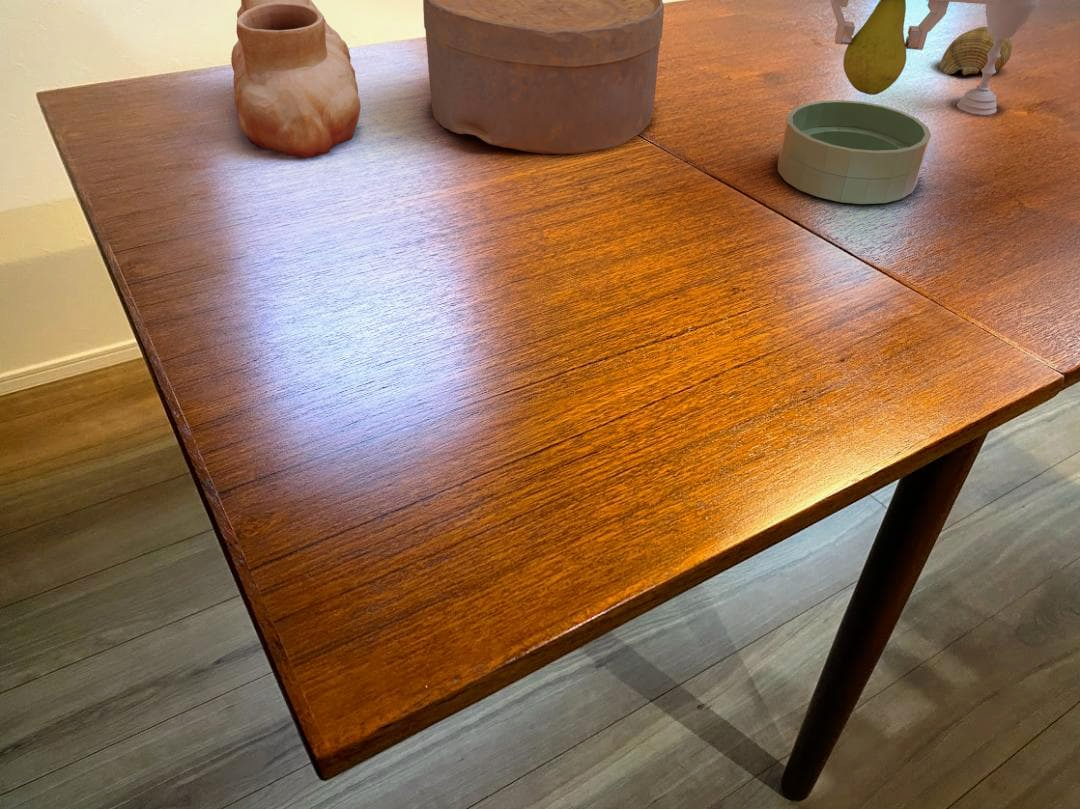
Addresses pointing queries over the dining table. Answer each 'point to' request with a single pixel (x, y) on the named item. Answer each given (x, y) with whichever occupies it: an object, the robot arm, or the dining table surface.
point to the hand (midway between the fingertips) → (877, 45)
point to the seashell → (973, 52)
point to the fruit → (878, 49)
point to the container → (544, 70)
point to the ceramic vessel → (292, 79)
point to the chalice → (996, 50)
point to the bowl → (852, 151)
